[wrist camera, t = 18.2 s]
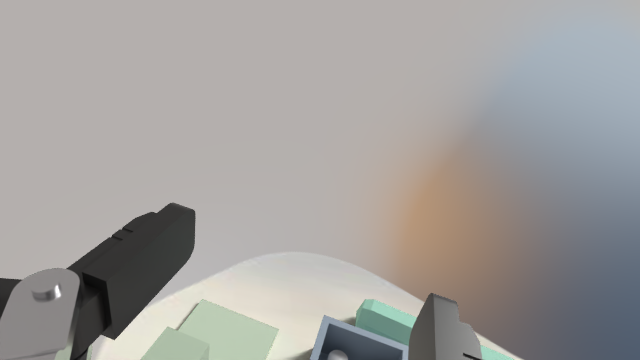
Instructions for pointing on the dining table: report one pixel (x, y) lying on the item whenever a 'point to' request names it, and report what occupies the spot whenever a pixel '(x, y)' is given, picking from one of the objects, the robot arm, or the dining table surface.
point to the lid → (214, 337)
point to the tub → (354, 343)
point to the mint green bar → (399, 325)
